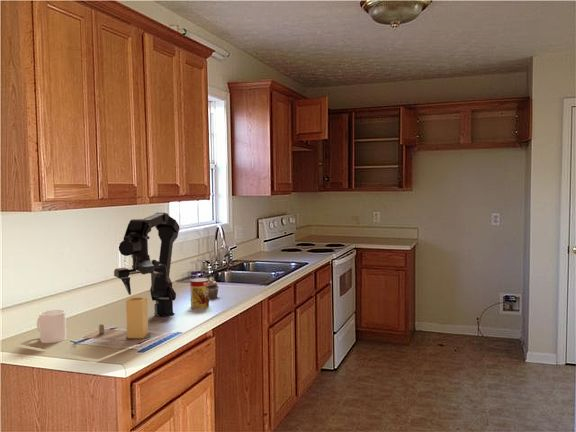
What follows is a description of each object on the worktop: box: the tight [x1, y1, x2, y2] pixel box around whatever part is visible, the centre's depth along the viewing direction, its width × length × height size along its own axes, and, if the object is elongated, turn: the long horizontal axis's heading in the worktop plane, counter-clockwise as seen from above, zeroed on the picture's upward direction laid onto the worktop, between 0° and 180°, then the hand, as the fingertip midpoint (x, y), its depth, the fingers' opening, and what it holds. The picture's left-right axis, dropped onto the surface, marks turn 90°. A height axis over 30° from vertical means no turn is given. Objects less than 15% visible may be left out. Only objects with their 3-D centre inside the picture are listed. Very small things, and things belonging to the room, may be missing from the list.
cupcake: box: [202, 275, 219, 300], centre depth 244 cm, size 10×10×10 cm
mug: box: [36, 309, 67, 344], centre depth 178 cm, size 12×8×10 cm
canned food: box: [189, 277, 210, 310], centre depth 225 cm, size 8×8×12 cm
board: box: [82, 323, 157, 345], centre depth 181 cm, size 23×11×4 cm, turn 74°
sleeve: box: [125, 296, 149, 338], centre depth 179 cm, size 6×6×13 cm
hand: (141, 293), depth 194 cm, fingers open, 9 cm apart
